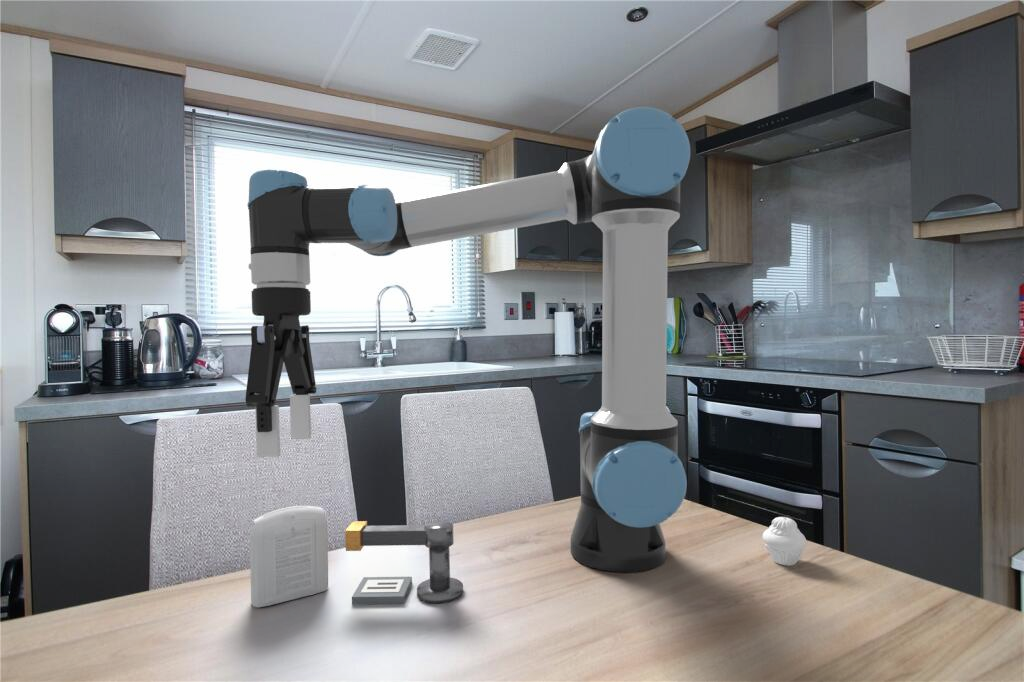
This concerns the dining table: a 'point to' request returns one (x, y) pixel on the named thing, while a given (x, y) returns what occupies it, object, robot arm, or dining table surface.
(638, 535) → the robot arm
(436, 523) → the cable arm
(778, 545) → the muffin
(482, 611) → the dining table surface
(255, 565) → the photo printer
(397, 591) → the label tile
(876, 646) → the dining table surface
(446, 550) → the round-base stand
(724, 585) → the dining table surface
